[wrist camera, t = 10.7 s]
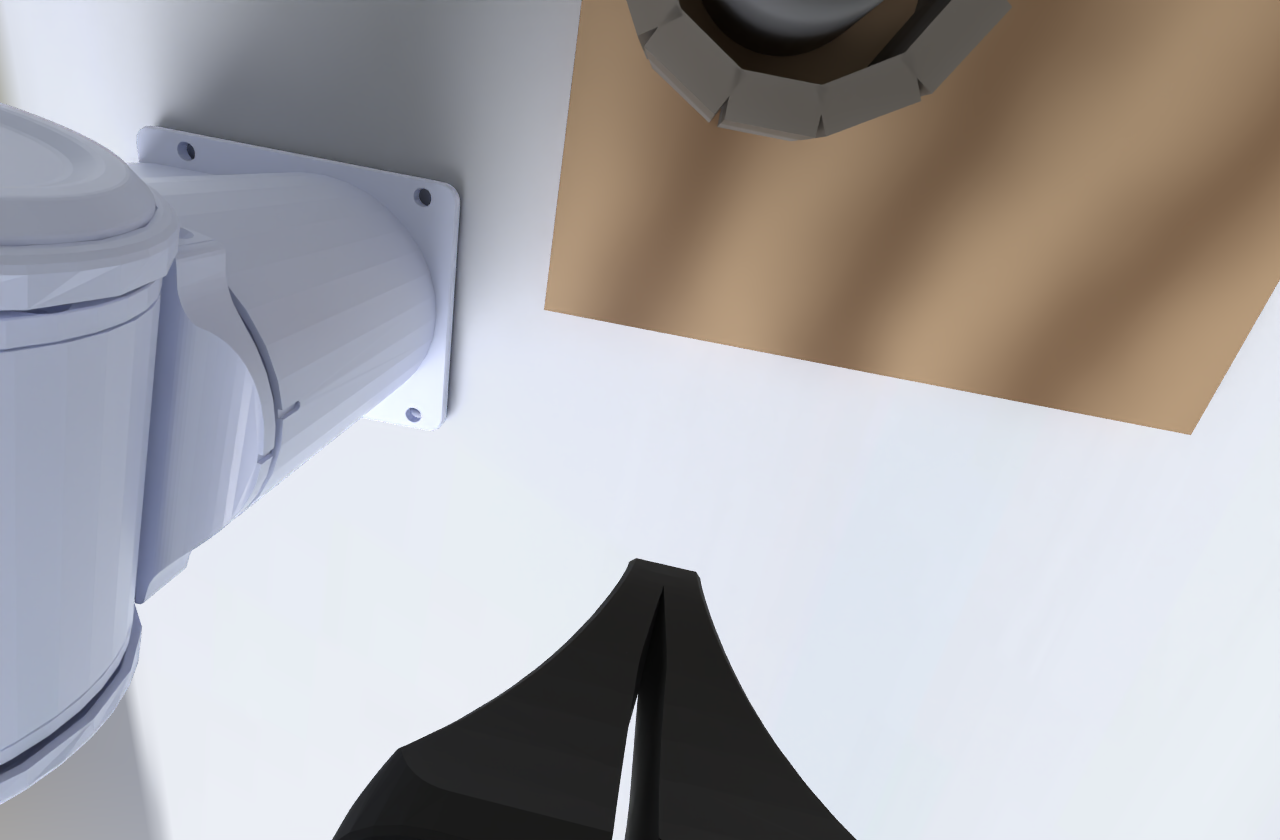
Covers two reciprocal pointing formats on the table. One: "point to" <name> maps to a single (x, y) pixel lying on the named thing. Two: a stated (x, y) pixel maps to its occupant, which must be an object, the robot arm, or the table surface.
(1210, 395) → the barrel mount
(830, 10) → the dark gray cylinder
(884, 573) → the table surface
